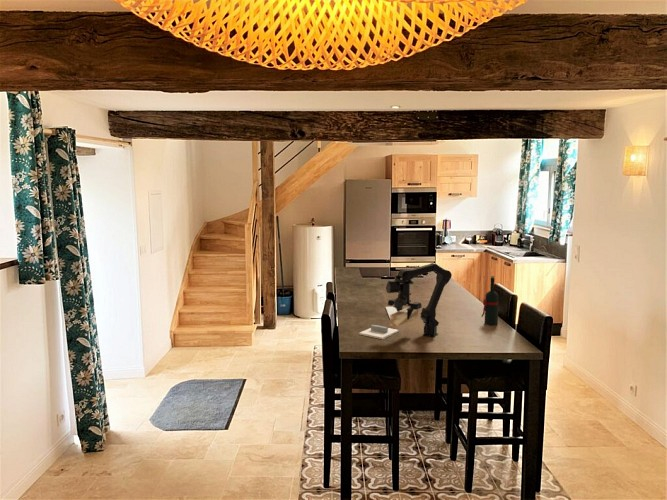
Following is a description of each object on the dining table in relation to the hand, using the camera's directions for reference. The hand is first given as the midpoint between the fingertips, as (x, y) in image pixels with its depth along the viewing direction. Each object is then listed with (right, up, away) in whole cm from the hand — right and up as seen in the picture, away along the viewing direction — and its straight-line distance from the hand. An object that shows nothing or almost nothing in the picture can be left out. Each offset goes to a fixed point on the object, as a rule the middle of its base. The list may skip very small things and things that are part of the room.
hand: (404, 318), depth 288 cm
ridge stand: (-13, -10, +12) cm, 20 cm away
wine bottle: (+57, -7, +29) cm, 64 cm away
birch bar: (0, -1, 0) cm, 1 cm away
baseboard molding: (+2, -5, +55) cm, 55 cm away
